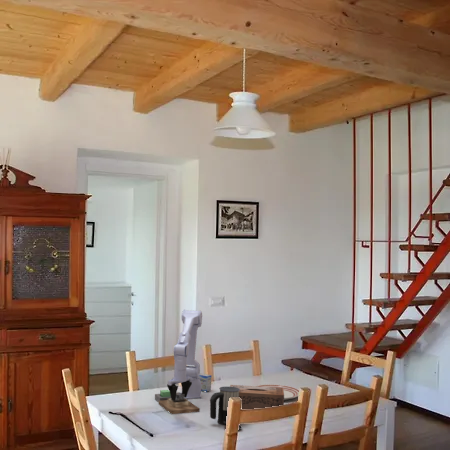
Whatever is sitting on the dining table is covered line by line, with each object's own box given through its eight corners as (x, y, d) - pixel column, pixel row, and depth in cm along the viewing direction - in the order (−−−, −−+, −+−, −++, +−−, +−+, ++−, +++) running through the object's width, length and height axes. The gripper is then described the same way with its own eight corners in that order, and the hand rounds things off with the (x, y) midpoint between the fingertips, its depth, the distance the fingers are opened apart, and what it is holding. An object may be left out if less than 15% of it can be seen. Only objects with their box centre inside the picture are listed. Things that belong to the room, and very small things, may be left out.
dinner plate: (283, 406, 287) (283, 399, 287) (238, 396, 303) (238, 389, 303) (310, 396, 309) (310, 390, 309) (267, 387, 325) (267, 381, 325)
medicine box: (194, 390, 310) (194, 374, 311) (198, 389, 314) (199, 372, 315) (207, 392, 307) (207, 376, 307) (211, 391, 311) (211, 374, 311)
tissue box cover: (282, 408, 283) (283, 387, 283) (283, 416, 268) (284, 395, 269) (229, 405, 285) (230, 384, 285) (227, 413, 270) (228, 391, 271)
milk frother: (226, 418, 261) (228, 385, 262) (254, 426, 251) (256, 391, 252) (205, 424, 250) (207, 389, 251) (234, 433, 240) (235, 397, 241)
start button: (167, 394, 290) (167, 389, 290) (170, 396, 286) (170, 391, 286) (160, 395, 288) (160, 390, 288) (162, 397, 284) (162, 392, 284)
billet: (177, 402, 278) (178, 392, 278) (184, 404, 276) (184, 393, 276) (172, 404, 275) (172, 393, 275) (178, 406, 272) (178, 395, 273)
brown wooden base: (185, 401, 286) (185, 394, 286) (199, 411, 270) (199, 404, 270) (158, 403, 280) (158, 396, 280) (170, 414, 264) (171, 406, 264)
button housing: (169, 398, 292) (170, 393, 292) (175, 402, 285) (175, 396, 285) (154, 399, 289) (155, 394, 289) (159, 403, 282) (160, 398, 282)
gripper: (184, 366, 284) (183, 394, 283) (163, 370, 273) (162, 399, 272) (195, 368, 279) (193, 397, 279) (174, 372, 268) (172, 402, 268)
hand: (178, 398), depth 275 cm, fingers open, 7 cm apart
